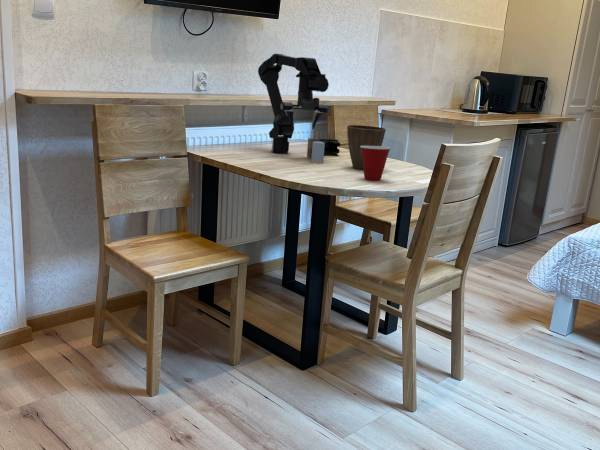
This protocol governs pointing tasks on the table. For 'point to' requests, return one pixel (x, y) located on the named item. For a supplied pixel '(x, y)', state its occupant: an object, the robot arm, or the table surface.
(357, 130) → the plant pot
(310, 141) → the walnut block
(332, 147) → the end cap
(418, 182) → the table surface
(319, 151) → the slate block
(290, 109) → the robot arm
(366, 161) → the plastic cup
